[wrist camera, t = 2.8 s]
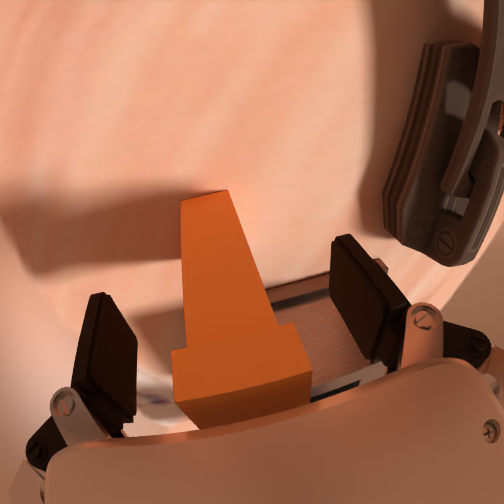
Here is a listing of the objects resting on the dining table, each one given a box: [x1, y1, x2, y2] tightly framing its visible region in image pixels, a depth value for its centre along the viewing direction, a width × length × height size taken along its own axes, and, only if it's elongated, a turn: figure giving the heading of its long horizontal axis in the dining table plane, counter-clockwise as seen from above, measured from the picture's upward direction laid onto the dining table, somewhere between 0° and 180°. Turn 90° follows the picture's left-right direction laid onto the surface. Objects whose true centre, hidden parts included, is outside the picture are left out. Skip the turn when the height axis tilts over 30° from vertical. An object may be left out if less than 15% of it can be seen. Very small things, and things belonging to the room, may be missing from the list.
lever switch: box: [265, 259, 389, 403], centre depth 16 cm, size 19×14×21 cm
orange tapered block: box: [171, 190, 313, 429], centre depth 11 cm, size 4×3×10 cm
